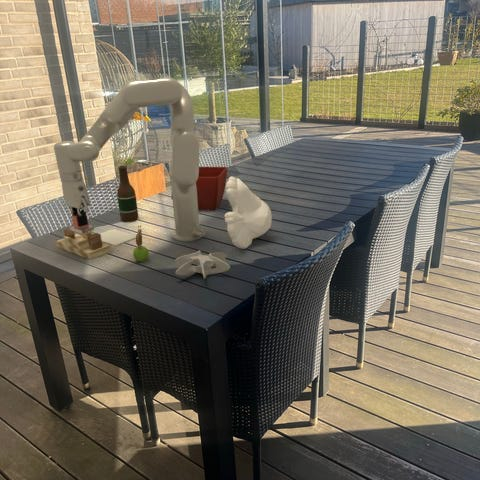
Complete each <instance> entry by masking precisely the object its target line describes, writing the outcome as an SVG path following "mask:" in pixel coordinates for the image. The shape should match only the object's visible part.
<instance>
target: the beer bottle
mask: <svg viewBox="0 0 480 480" xmlns="http://www.w3.org/2000/svg"><path fill="white" fill-rule="evenodd" d="M117 169H118V172H119V175H118V176H119V187H118V188H117V192H116V194H117V195H116V196H117V203H118V210H119V216H120V221H121V222H123V223H131V222H136V221H137V220H138V219H139V212H138V211H139V210H138V204H137V195H136V191H135V189H134V187H133V186H132V184H131V182H130V179H129V174H128V167H127V166H126V165H119V166H118V168H117Z"/></svg>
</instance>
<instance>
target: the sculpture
mask: <svg viewBox="0 0 480 480" xmlns="http://www.w3.org/2000/svg"><path fill="white" fill-rule="evenodd" d="M227 257H228V256H227V253H224V252H209V254H208V255H207V254H202V251H201V250H198V251H197V252H193V253H190V254H185V255H181V256H179V257H177V258H175V259H174V261H175V263H176V264H177V265H179V266H180V267H179V268H178V269H176V270H175V275H178V276H185V277H186V276H193V275H195V274H196V273H199V274H202V277H203V279H204V280H205V279H206V277H207V276H209V275H210V276H211V275H215V274H220V273H223V272H228V271H229V270H230V269H231V266H230V264H228V263H227V262H225V261H224V260H225V259H226V258H227ZM207 262H208V263H209V262H211V264H209V265H205V263H207ZM193 263H200V264H199V265H192V264H193Z"/></svg>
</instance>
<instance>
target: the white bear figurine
mask: <svg viewBox="0 0 480 480" xmlns="http://www.w3.org/2000/svg"><path fill="white" fill-rule="evenodd" d="M225 196H226V199H227V200H228V203H229V204H230V206H231V209H232V211H228V212H226V213H225V214H224V221H225V223H226V224H227V225H226V230H227V233H228V236H229V238H231V242H232V244H233V245H234V246H235V247H237V248H239V249H241V250H245V249H247V248H248V247H250V246H251V245H252V242H253V239H256V238H258V237H261V236H263V235H264V234H265V233H266V232H268V231H269V229H270V228H271V226H272V221H273V217H272V210H271V208H270V207H269V205H268V203H266V202H265V201H263V199H261V198H260V197H259V196H257V195H255V194H254V193H253V192H252V191H251V189H250V188H249V187H248V186H247V185H246V184H245V183H244V182H243V181H242V180H241V179H240V178H238V177H237V178H236V177H235V176H230V177H228V180H227V181H226V184H225Z"/></svg>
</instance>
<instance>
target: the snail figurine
mask: <svg viewBox="0 0 480 480" xmlns="http://www.w3.org/2000/svg"><path fill="white" fill-rule="evenodd" d="M137 227H138V229H137V233H136V235H135V236H136V239H135V243H136V245H137V246H136V247H135V248H134V249H133V251H132V252H133V253H132V256H133V259H135V260H136V261H137V262H144V261H146V260H147V259H148V258H149V256H150V255H149V254H150V253H149V250H148V248H147V247H145V246H143V234H142V231H143V230H142V229H141V227H142V225H137ZM139 227H140V228H139Z"/></svg>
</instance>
